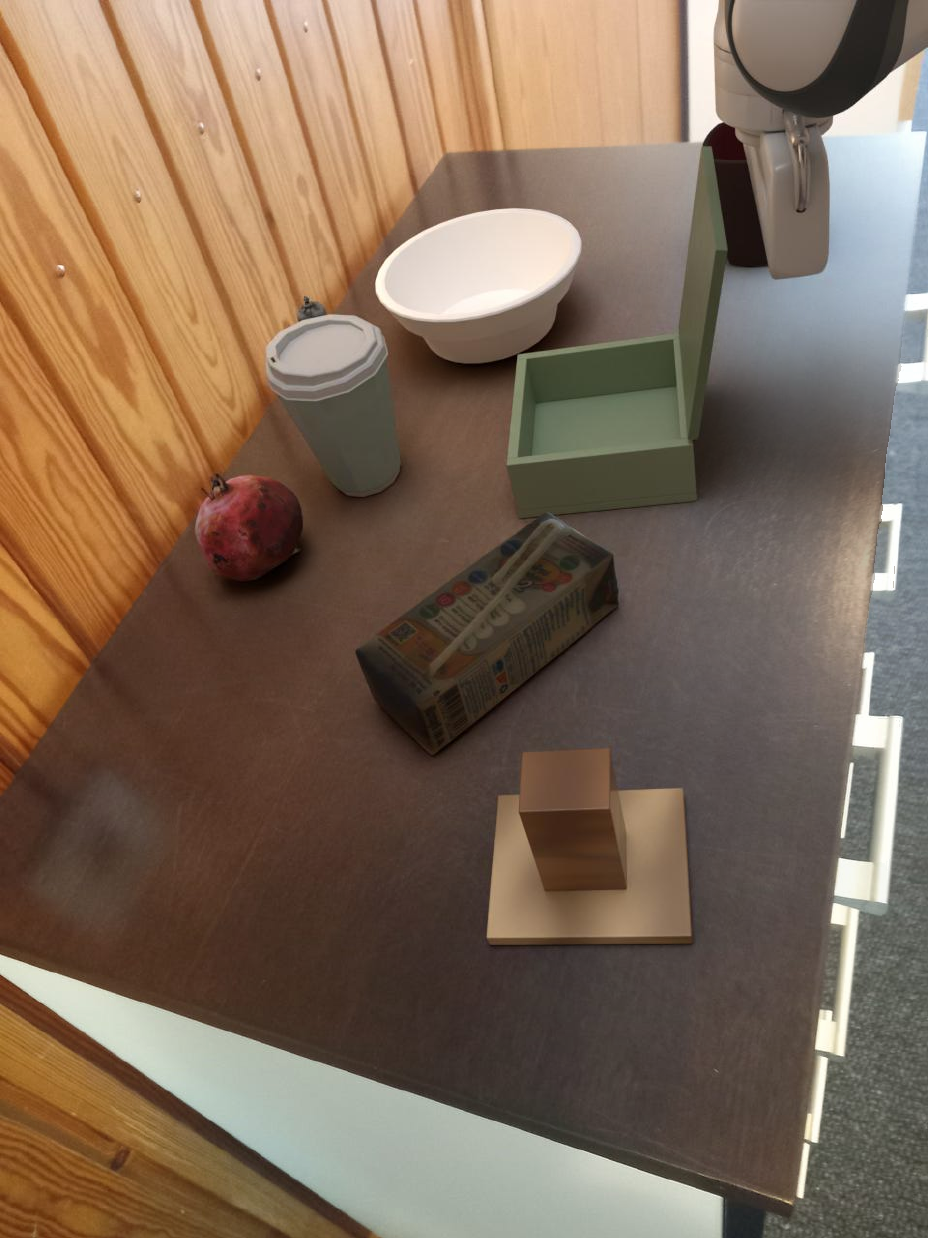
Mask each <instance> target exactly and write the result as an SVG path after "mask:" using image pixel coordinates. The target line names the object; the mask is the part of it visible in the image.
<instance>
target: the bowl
mask: <svg viewBox="0 0 928 1238" xmlns="http://www.w3.org/2000/svg"><path fill="white" fill-rule="evenodd" d="M582 245H583V241H582V238H581V235H580V233H579V231H578V230H577V228H576V227H575V226H574V225H573V224H572V223H571V222H570V221H568V220H567V219H565V218H564V217H562V216H560V215H557V214H555V213H552V212H548V211H545V210H540V209H534V208H517V207H513V208H512V207H510V208H495V209H490V210H482V211H477V212H473V213H468V214H465V215H461V216H457V217H454V218H452V219H448V220H445V221H442V222H440V223H438V224H436V225H434V226H431V227H429V228H426V229H424V230H423V231H421V232H419V233H418V234H416V235H414V236H412V237H410V238H409V239H407V240H406V241H405V242H403V243H402V244H401V245H399V247H397V248H396V249H394V250H393V252H392V253H391V254H389V256H388V257H387V258H385V260H384V262H383V263H382V265H381V266H380V268H379V270H378V272H377V275H376V279H375V285H374V286H375V295H376V296H377V298H378V300H379V303H380V304H381V305H382V306H383V307H384V308H385V309H386V310H387V311H388V312H389V313H390V314H391V316H393V318H394V319H395V320H396V321H397V322H398V323H399V324H401V325H402V327H404V329H406V331H408V332H410V333H412V334H414V335H416V336H418V337H421V338H422V339H423V340H424V341H425V343H426V344H427V345H428V347H429V348H430V350H431V351H432V352H434V354H436V356H439V358H442V359H444V360H446V361H450V362H454V363H461V364H484V363H491V362H497V361H500V360H504V359H507V358H511V357H512V356H515V355H519V354H521V353H522V352H524V351H526V350H529V349H530V348H531V347H533V346H534V345H536V344H537V343H539V342H540V341H541V340H542V339H544V338H545V336H547V335H548V333H549V332H550V330H551V329H552V328H553V326H554V323H555V321H556V315H557V311H558V304H559V303H560V302H561V301H562V299H563V298H564V297H565V296H566V294H567V293H568V292H569V289H570V287H571V285H572V282H573V280H574V277H575V274H576V271H577V268H578V264H579V261H580V258H581V255H582V247H583V246H582Z"/></svg>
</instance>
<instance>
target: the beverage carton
mask: <svg viewBox="0 0 928 1238" xmlns="http://www.w3.org/2000/svg"><path fill="white" fill-rule="evenodd" d="M614 557H615V556H614V553H612V552H611V551H610V550H609V549H607V548H605V547H604V546H602V545H601V544H599V543H597V542H595V540H592V539H590V538H589V537H587V536H586V535H584V534H583V533H581V532H580V531H578V530H576V528H573V527H572V526H570V525H569V524H567V523H566V522H564V521H563V520H561V519H560V518H558V517H557V516H556V515H552V514H550V513H547V512H545V513H543V514H542V515H541V516H540V517H536V518H535V519H534V520H532V521H531V522H530V523H528V524H527V525H525V526H523V527H522V528H521V529H519V531H517V532H516V533H514V534H512V535H511V536H510V537H508V538H506V539H505V540H503V541H502V542H501V543H499V544H498V545H497V546H496V547H494V548H493V549H492V550H490V551H489V552H487V553H486V554H484V555H482V556H481V557H480V558H479V559H477V560H476V561H474V562H473V563H472V564H470V565H469V566H468V567H466V568H465V569H463V570H461V571H460V572H459V573H458V574H456V575H455V576H453V577H452V578H450V580H448V581H447V582H445V583H443V584H442V585H441V586H440V587H438V588H437V589H436V590H435V591H433V592H432V593H430V594H429V595H428V596H426V597H425V598H423V599H422V600H420V601H418V602H417V603H416V604H415V605H414V606H413V607H411V608H410V609H408V610H407V611H406V612H404V613H403V614H402V615H400V616H398V618H396V619H395V620H394V621H392V622H391V623H388V625H387V626H385V627H384V628H382V629H381V630H380V631H379V632H377V633H376V634H375V635H373V636H371V637H370V638H369V639H368V640H367V641H366V642H364V643H363V644H362V645H360V646H359V647H357V648H356V649H355V651H354V654H355V656H356V659H357V662H358V664H359V668H360V669H361V672H362V674H363V676H364V679H365V680H366V684H367V686H368V688H369V691H370V693H371V695H372V697H373V699H374V701H375V702H376V703H377V704H378V705H379V707H381V708H382V709H383V710H384V711H385V712H386V713H387V714H388V715H389V716H390V717H391V718H392V719H393V720H394V721H395V722H396V723H397V724H399V726H400V727H401V728H402V729H403V730H404V731H405V732H406V733H407V734H408V735H409V736H410V737H411V738H412V739H414V741H416V742H417V743H418V744H419V745H420V747H422V748H423V749H424V750H425V751H426V752H427V753H428V754H429V755H432V756H435V754H437V753H438V752H439V751H440V750H441V749H443V748H444V747H445V746H447V745H448V744H449V743H450V742H452V741H453V740H454V739H456V738H457V737H458V736H459V735H461V734H462V733H464V731H466V730H467V729H468V728H469V727H471V726H472V725H474V723H476V722H477V721H478V720H480V719H481V718H482V717H483V716H485V715H486V714H487V713H489V711H491V710H492V709H493V708H494V707H496V706H497V705H498V704H499V703H500V702H502V701H503V700H504V699H505V698H507V697H509V695H510V694H512V693H513V692H514V691H515V690H517V689H518V688H519V687H520V686H521V685H523V684H524V683H525V682H526V681H528V680H529V679H530V678H531V677H533V676H534V675H535V674H537V673H538V672H539V671H540V670H541V669H543V667H545V666H546V665H547V664H549V663H550V662H551V661H552V660H553V659H554V658H556V657H557V656H559V655H560V654H561V653H562V652H564V651H565V650H567V649H568V648H569V647H570V646H571V645H572V644H573V643H575V642H576V641H577V640H578V639H580V638H581V637H582V636H584V635H585V634H586V633H587V632H588V631H589V630H591V628H593V627H594V626H595V625H596V624H597V623H599V621H601V620H603V619H604V617H606V616H607V615H608V614H610V613H611V612H612V611H614V610H615V609H616V608H617V607H618V606H619V604H620V603H619V592H620V591H619V587H618V579H617V575H616V567H615V558H614Z"/></svg>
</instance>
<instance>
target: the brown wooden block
mask: <svg viewBox="0 0 928 1238" xmlns="http://www.w3.org/2000/svg"><path fill="white" fill-rule="evenodd" d="M611 751H612V750H611V748H609V747H604V748H603V747H601V748H584V749H583V748H581V749H561V750H539V751H523V752H522V754H521V768H520V783H519V794H520V796H519V815H520V818H521V821H522V824H523V827H524V830H525V833H526V836H527V839H528V842H529V845H530V848H531V851H532V854H533V857H534V860H535V863H536V866H537V869H538V872H539V875H540V878H541V882H542V885H543V888H544V890H545V891H565V890H617V889H627V850H626V828H625V823H624V818H623V813H622V807H621V802H620V797H619V792H618V791H619V787H618V783H617V782H618V781H617V778H616V777H617V776H616V772H615V767H614V762H613V757H612V753H611Z"/></svg>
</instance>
